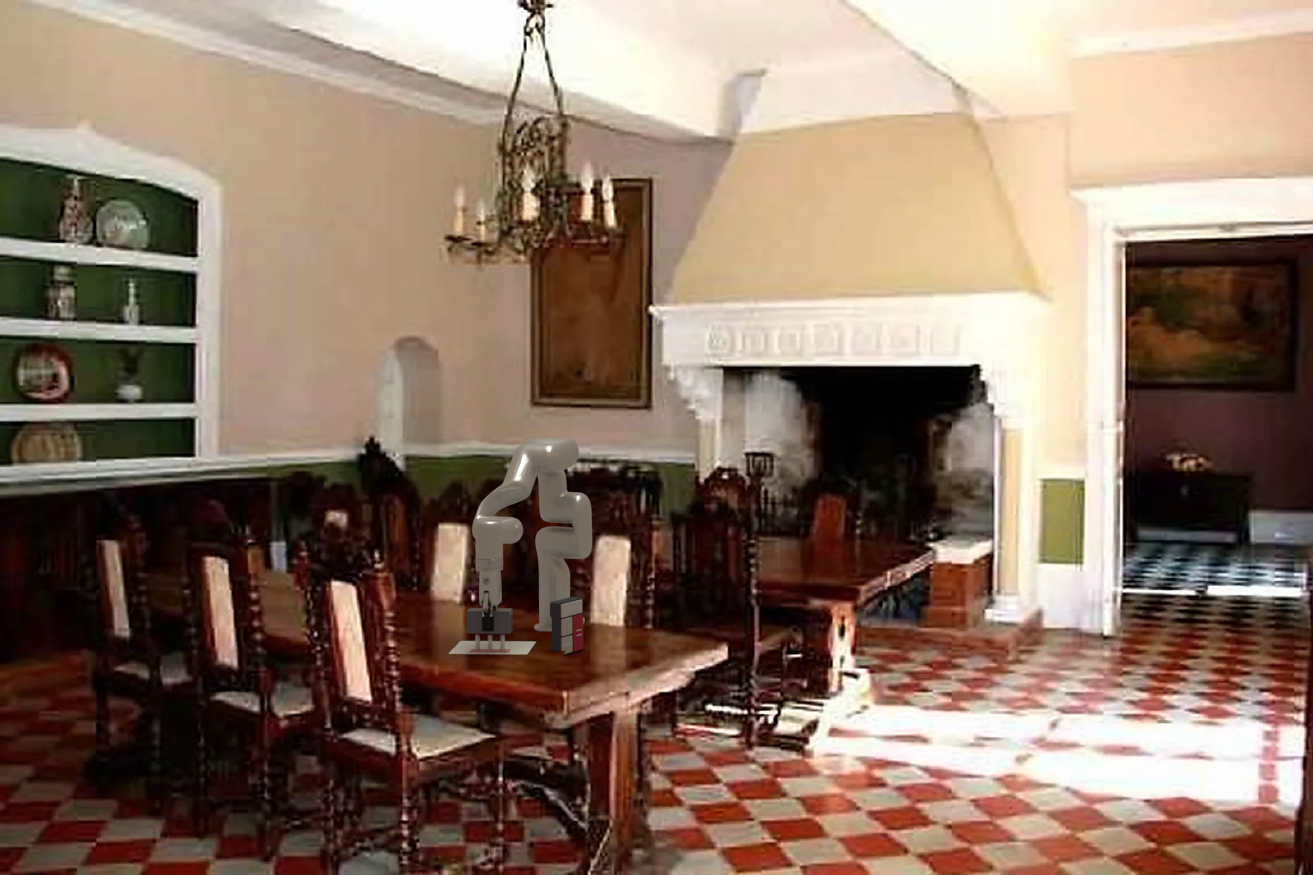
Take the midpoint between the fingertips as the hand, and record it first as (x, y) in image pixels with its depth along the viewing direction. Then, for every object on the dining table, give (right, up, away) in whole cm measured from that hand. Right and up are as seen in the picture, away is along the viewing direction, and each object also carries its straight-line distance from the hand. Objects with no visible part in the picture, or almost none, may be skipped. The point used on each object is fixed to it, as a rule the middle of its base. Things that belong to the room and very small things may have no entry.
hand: (489, 628), depth 388 cm
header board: (0, -8, +5) cm, 9 cm away
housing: (0, -1, 0) cm, 1 cm away
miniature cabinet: (+21, -8, +5) cm, 23 cm away
